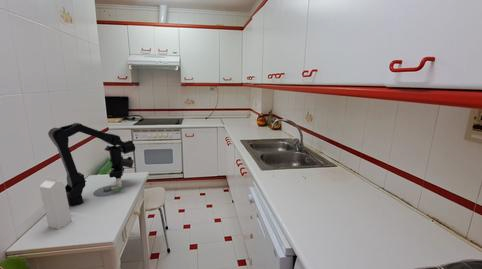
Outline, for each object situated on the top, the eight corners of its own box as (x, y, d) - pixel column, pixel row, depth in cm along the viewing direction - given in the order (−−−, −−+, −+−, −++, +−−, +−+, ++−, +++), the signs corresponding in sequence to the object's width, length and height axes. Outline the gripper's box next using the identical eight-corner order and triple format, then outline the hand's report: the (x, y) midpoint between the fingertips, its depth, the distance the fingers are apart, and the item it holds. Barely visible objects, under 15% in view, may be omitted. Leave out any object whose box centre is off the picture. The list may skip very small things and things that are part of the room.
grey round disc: (87, 197, 129) (86, 195, 128) (106, 185, 142) (106, 183, 142) (109, 199, 126) (109, 197, 125) (127, 187, 139) (127, 186, 138)
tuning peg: (103, 192, 131) (101, 182, 129) (103, 189, 134) (102, 179, 133) (122, 189, 135) (120, 179, 133) (122, 186, 138) (121, 176, 137)
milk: (61, 219, 108) (52, 173, 104) (72, 221, 107) (63, 175, 102) (47, 227, 103) (37, 179, 98) (58, 229, 101) (48, 180, 96)
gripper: (130, 160, 128) (134, 186, 132) (132, 149, 145) (135, 173, 149) (107, 163, 124) (111, 190, 129) (112, 151, 141) (115, 175, 146)
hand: (119, 181), depth 138 cm, fingers closed
